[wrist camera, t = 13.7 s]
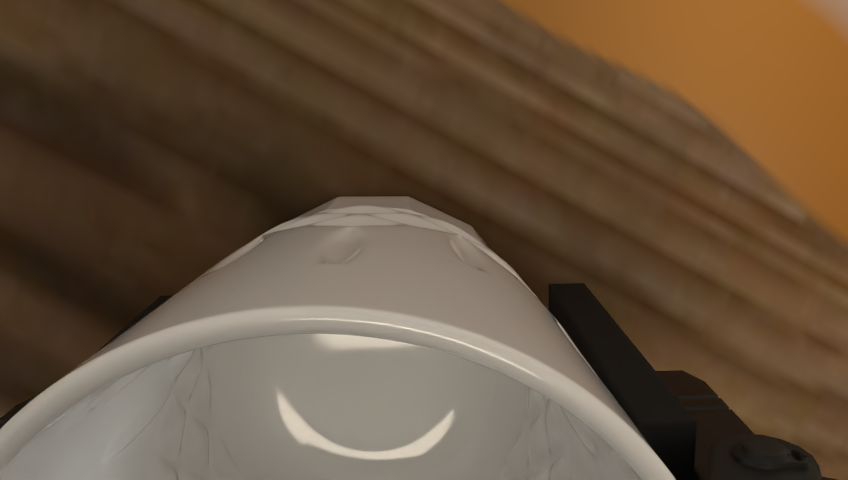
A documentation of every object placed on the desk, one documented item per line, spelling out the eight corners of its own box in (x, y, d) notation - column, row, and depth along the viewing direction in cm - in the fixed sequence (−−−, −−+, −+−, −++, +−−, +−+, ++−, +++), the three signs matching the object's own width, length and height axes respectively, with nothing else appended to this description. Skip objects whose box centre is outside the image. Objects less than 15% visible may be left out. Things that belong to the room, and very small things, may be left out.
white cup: (342, 90, 15) (220, 113, 6) (620, 310, 17) (914, 642, 7) (135, 366, 17) (-253, 768, 7) (406, 552, 18) (397, 1123, 8)
